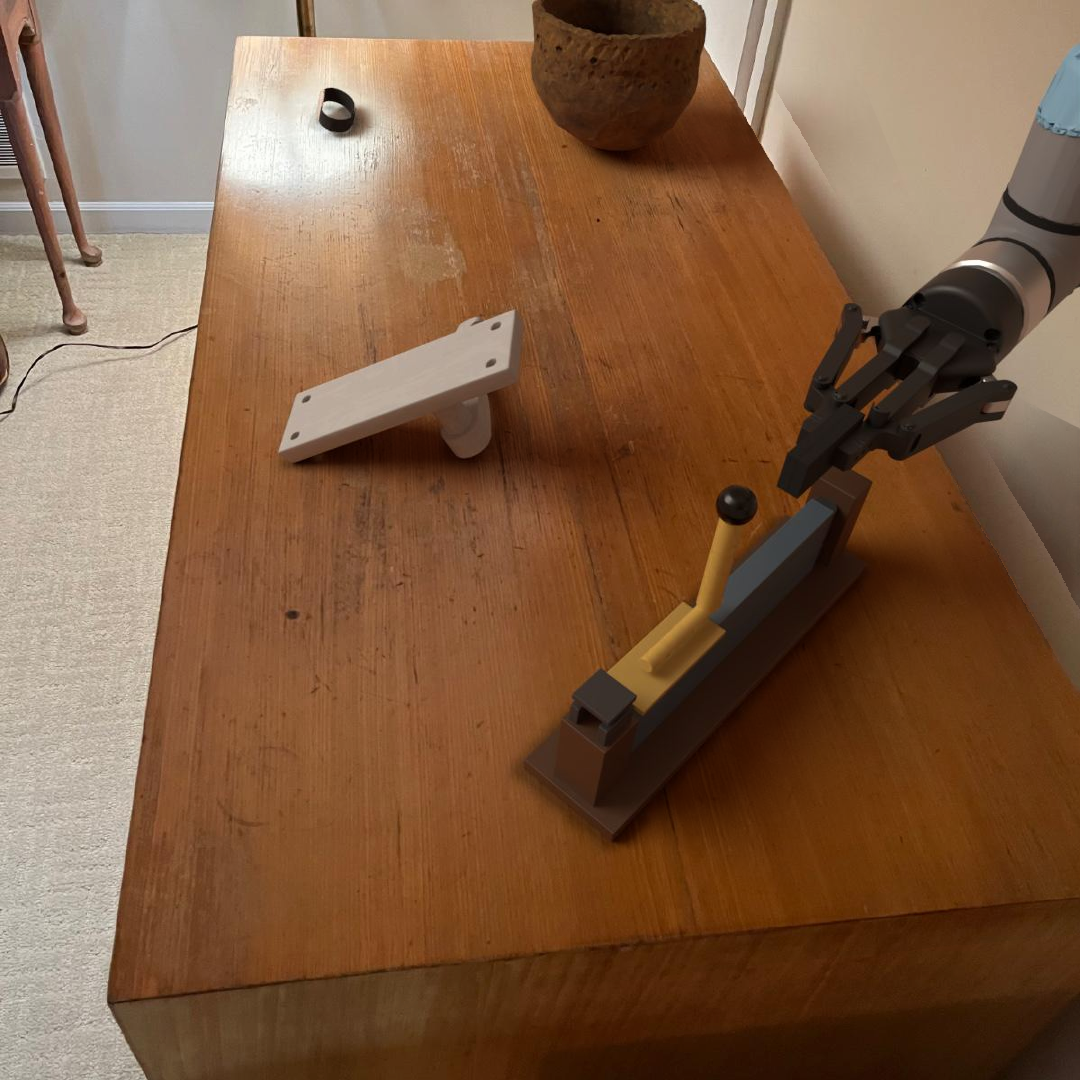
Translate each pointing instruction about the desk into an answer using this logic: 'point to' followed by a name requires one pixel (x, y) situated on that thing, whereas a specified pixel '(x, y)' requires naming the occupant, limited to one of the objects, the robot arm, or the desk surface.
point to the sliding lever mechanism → (701, 664)
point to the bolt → (710, 571)
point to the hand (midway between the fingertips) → (792, 476)
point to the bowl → (617, 66)
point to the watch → (342, 99)
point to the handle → (413, 391)
